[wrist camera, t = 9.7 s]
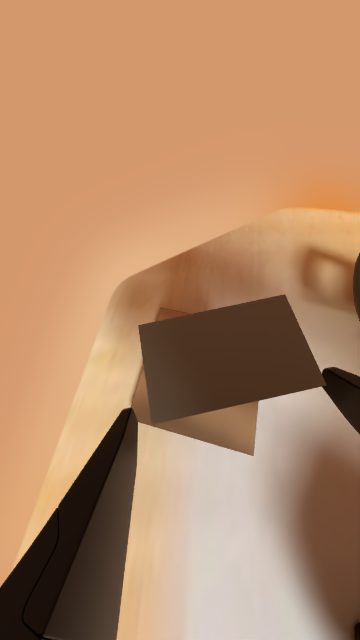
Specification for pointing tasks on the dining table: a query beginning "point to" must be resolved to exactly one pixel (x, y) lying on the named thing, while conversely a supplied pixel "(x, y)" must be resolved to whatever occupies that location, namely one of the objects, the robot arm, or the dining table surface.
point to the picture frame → (225, 358)
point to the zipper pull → (357, 286)
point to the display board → (204, 416)
